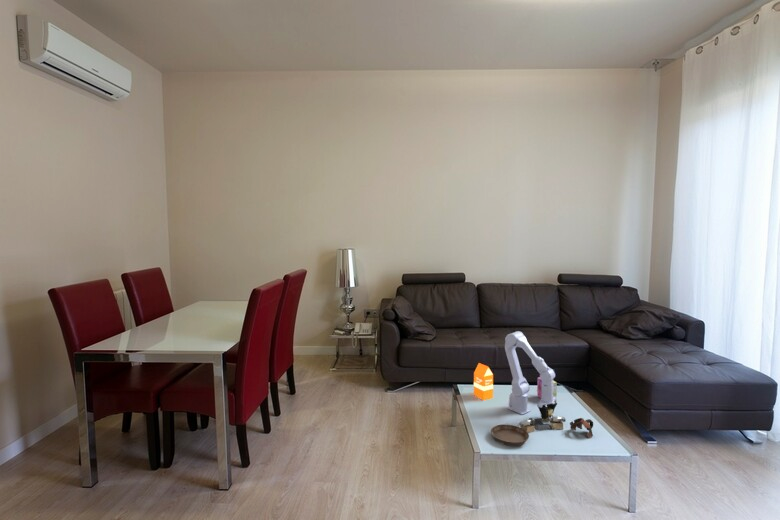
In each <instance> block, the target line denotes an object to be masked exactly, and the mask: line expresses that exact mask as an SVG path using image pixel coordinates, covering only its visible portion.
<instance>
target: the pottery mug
mask: <svg viewBox="0 0 780 520" xmlns="http://www.w3.org/2000/svg"><path fill="white" fill-rule="evenodd" d="M569 426H570V430H573V431H577V428H578V429H580V430H583V427H584V428H585V429H586V430H587V431H588V432H587V433H586V436H587V439H590V438H592V437H593V436H594V434H593V430H592V429H593V428H594V421H593V420H592V419H591V418H590V419H584V418H583V417H579V418H575V419H574V420H572V421H571V422H569Z"/></svg>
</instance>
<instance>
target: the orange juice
mask: <svg viewBox="0 0 780 520" xmlns="http://www.w3.org/2000/svg"><path fill="white" fill-rule="evenodd" d="M474 395H476V396H477V397H479V398H481V399H482V400H481V399H480V400H481V401H483V400H484V401H487V400H486V399H488V400H491V398H492V399H494V373H493V372H492V370H491V369H490V367H489V366H488V365H485V364H482V363H480V362H478V364H477V366H476V368H475V370H474V371H473V396H474ZM476 396H475V397H476ZM477 397H476V398H477ZM479 398H478V399H479Z"/></svg>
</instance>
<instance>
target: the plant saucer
mask: <svg viewBox="0 0 780 520" xmlns="http://www.w3.org/2000/svg"><path fill="white" fill-rule="evenodd" d="M490 433H491V435H492V437H493V438H494V439H495V440H496V441H497V442H499V443H500V444H503V445H505V446H511V447H514V446H515V447H516V446H522V445H524V444H525V443H526V442H527V441H528V440H529V438H530V434H529V433H528V432H527V431H525V430H524V429H522V428H520V426H517V425H515V424H514V425H513V424H498V425H495V426H492V428H491V430H490Z"/></svg>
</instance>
